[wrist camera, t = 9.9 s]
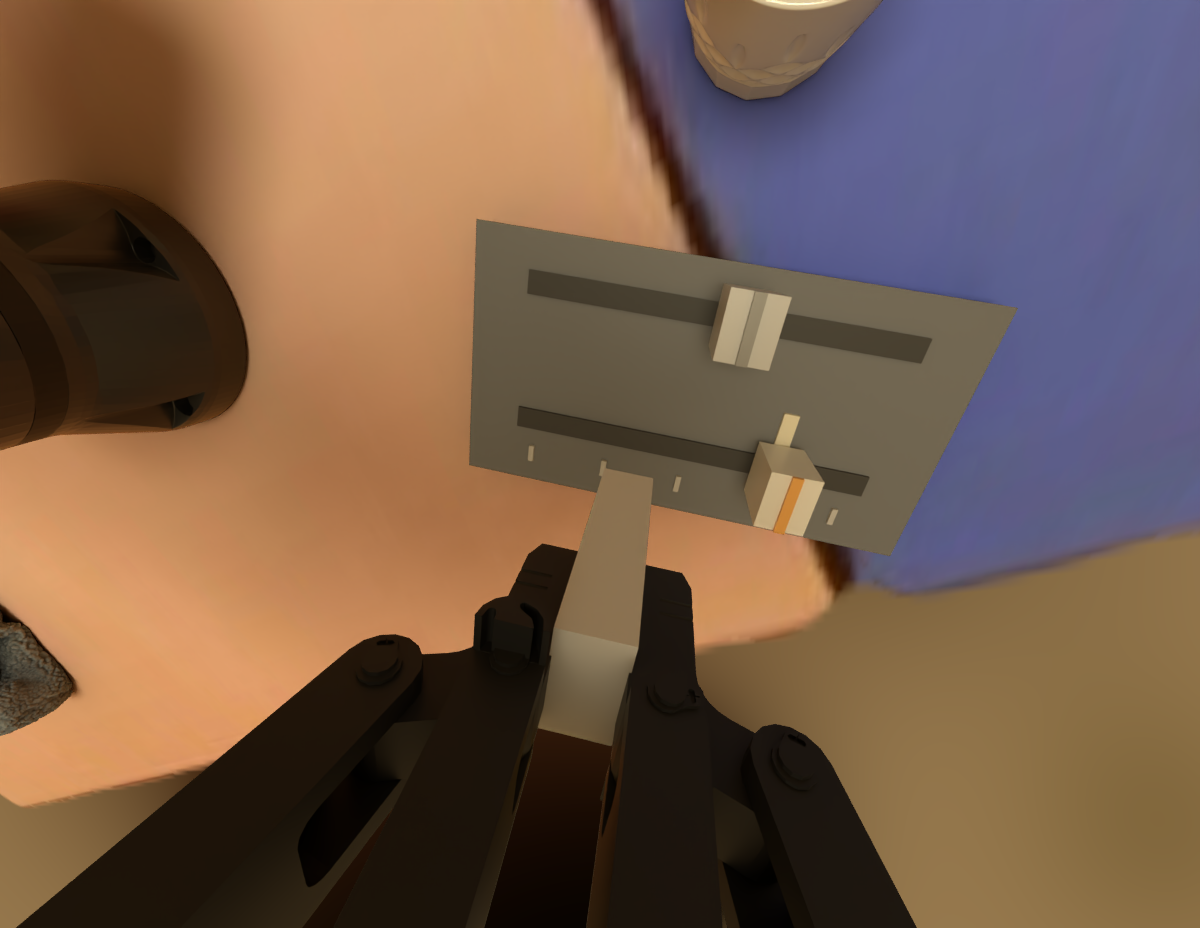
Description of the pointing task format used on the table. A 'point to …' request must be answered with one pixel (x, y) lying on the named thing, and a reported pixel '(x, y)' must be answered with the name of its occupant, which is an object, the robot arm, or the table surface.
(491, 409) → the console
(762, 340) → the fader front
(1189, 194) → the table surface
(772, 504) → the fader back
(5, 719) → the koala plush
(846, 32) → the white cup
